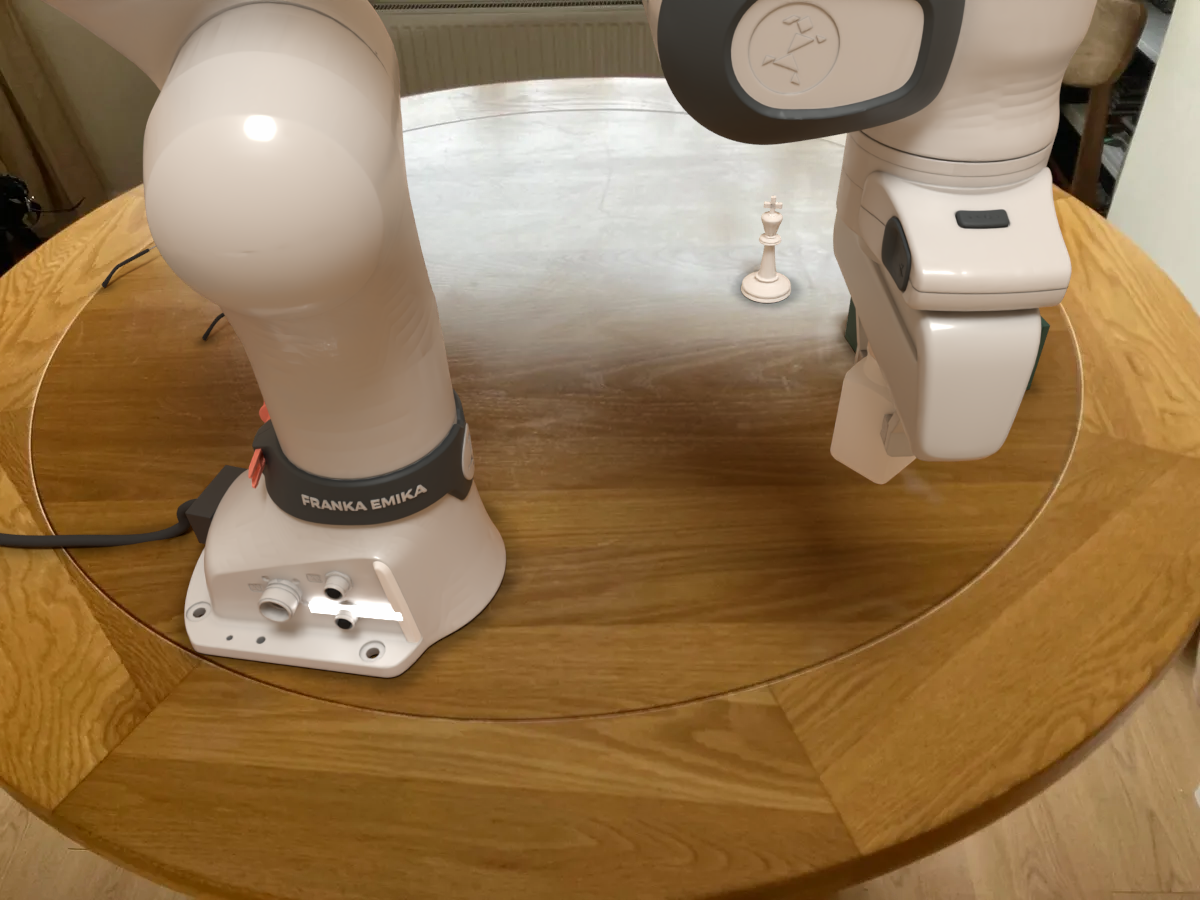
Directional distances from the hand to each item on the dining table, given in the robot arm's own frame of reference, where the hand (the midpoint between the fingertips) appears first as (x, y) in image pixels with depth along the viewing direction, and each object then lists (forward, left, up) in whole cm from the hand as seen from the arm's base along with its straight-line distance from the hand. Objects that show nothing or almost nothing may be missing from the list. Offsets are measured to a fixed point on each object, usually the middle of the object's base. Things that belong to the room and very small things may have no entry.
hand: (883, 410), depth 54 cm
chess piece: (0, +40, -18) cm, 44 cm away
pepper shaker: (0, 0, -4) cm, 4 cm away
